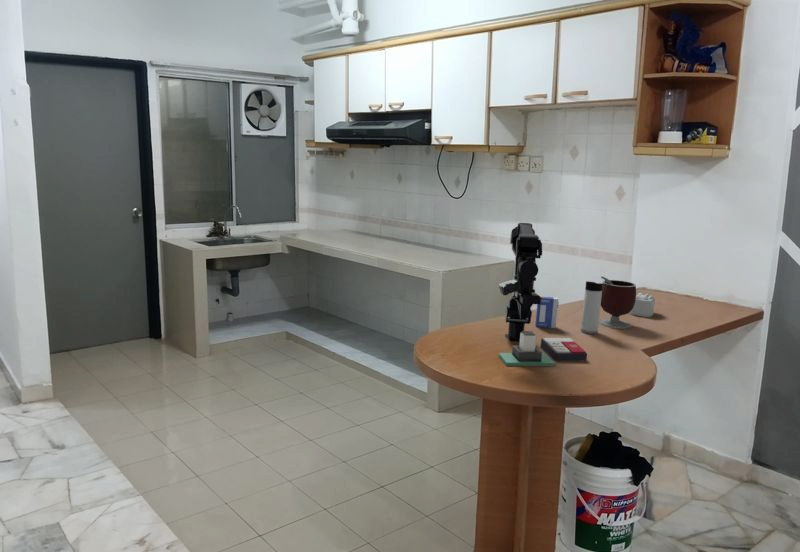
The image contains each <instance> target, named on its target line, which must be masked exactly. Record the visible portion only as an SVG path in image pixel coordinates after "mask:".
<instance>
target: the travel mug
mask: <svg viewBox="0 0 800 552" xmlns="http://www.w3.org/2000/svg"><path fill="white" fill-rule="evenodd" d="M602 286H603V284H602V283H601V282H599V283H598V282H595V281H589V280H587V281H585V288H584V297H583V305H582V308H583V309H582V316H581V325H580V331H581V333H585V334H588V335H595V334H598V331H599V325H600V324H599V320H600V316H601V315H600V314H601V296H602Z"/></svg>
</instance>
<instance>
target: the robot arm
mask: <svg viewBox="0 0 800 552" xmlns="http://www.w3.org/2000/svg"><path fill="white" fill-rule="evenodd" d="M510 233H511V234H510V239H509V240H510V245H511V251H512V253H513V254H514V256H515V262H514V263H515V264H514V275H513V279H510V280H507V281H503V282H500V283H499V284H498V288H499V291H500V294H501V295H502V296H508V295H509V294H512V293H513V295H512V297H511V299H510V300H508V301H509V302H508V305H507V306H506V310H505V317H504V318H505V319H504V320H505V323H508V328H507V329H508V332H507V333H506V334H504V337H506V338H507V339H508V340H509V341H520V332H522V331H525V329H526V328H525V326H526V325H525V324H527V325H530V324H531V321H532V315H533V311H532V309H531V308H532V306H533V305H537V304H541V300H542V298H541V297H542V296H540V295H539V294H537V293H536V289H534V287H535V286H534V284H535V281H537V278H536V277H537V275H538V273H539V267H538V264H537V263H536V262H537V260H536V259H541V257H542V256H543V243H542V240H541V239H540V237H539V236H538V235H537V234H536V231H535V229H534V228H533V224H532V223H530V222H519V223H517V226H516V227H514V228H513V229H511V231H510Z"/></svg>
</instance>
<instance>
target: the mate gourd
mask: <svg viewBox="0 0 800 552" xmlns="http://www.w3.org/2000/svg"><path fill="white" fill-rule="evenodd" d="M600 278H601V279H603V281H602V283H601V284H603V286H602V296H601V306H600V308H602V310H603V311H604V312H605V313H607V314H609V315H611V317H610V318H602V319H599V324H598V325H601V326H604V327H608V328H612V329H613V328H614V329H629V328H631V325H632V324H631V323H630V322H628V321H624V320H621V319H620V317H621V316H625V315H629V314H628V313H629V312H630V311H631V310H632V309H633V307H634V304H635V300H636V294H637V283H633V282H631V281H625V280H619V279H617V280H616V279H608V278H606V277H604V276H601V277H600Z"/></svg>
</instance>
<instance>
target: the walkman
mask: <svg viewBox="0 0 800 552" xmlns="http://www.w3.org/2000/svg"><path fill="white" fill-rule="evenodd" d="M540 297H541V298H542V300H541V304H536V312H535V313H536V315H535V327H536V328H537V327H538V328H550V329H556V327H557V319H558V318H557V317H558V316H557V315H558V309H559V297H551V296H540Z"/></svg>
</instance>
